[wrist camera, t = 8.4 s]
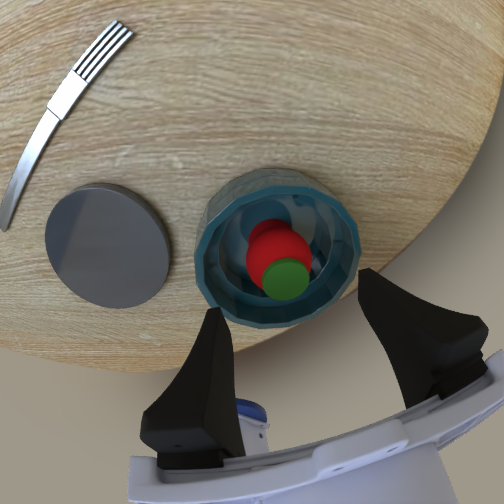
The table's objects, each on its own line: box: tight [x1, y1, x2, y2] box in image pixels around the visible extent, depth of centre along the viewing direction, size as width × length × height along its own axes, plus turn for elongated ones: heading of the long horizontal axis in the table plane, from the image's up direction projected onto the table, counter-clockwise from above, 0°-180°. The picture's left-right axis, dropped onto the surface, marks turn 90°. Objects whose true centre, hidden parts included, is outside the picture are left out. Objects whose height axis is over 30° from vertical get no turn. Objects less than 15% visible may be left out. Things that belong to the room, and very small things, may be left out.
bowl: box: [194, 169, 361, 329], centre depth 18 cm, size 10×10×4 cm
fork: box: [0, 20, 135, 232], centre depth 14 cm, size 18×2×1 cm, turn 132°
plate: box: [45, 183, 171, 309], centre depth 18 cm, size 10×10×1 cm
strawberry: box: [246, 219, 312, 301], centre depth 17 cm, size 4×4×5 cm
